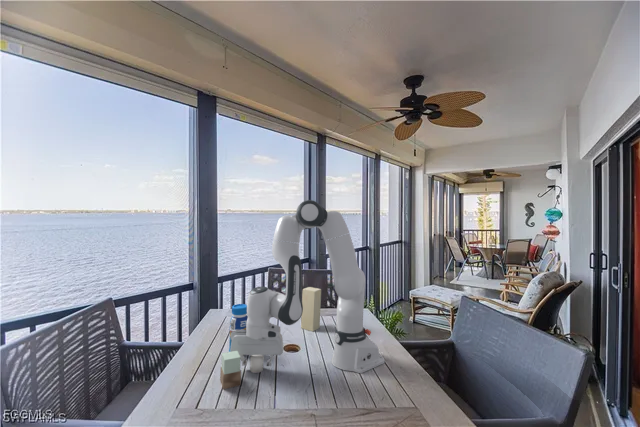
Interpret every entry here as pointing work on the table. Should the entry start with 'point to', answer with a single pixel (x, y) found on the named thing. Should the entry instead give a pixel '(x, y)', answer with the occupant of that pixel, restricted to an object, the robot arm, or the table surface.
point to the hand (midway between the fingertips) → (256, 365)
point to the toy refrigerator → (311, 308)
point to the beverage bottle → (238, 319)
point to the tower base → (230, 379)
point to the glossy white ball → (256, 363)
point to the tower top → (230, 362)
